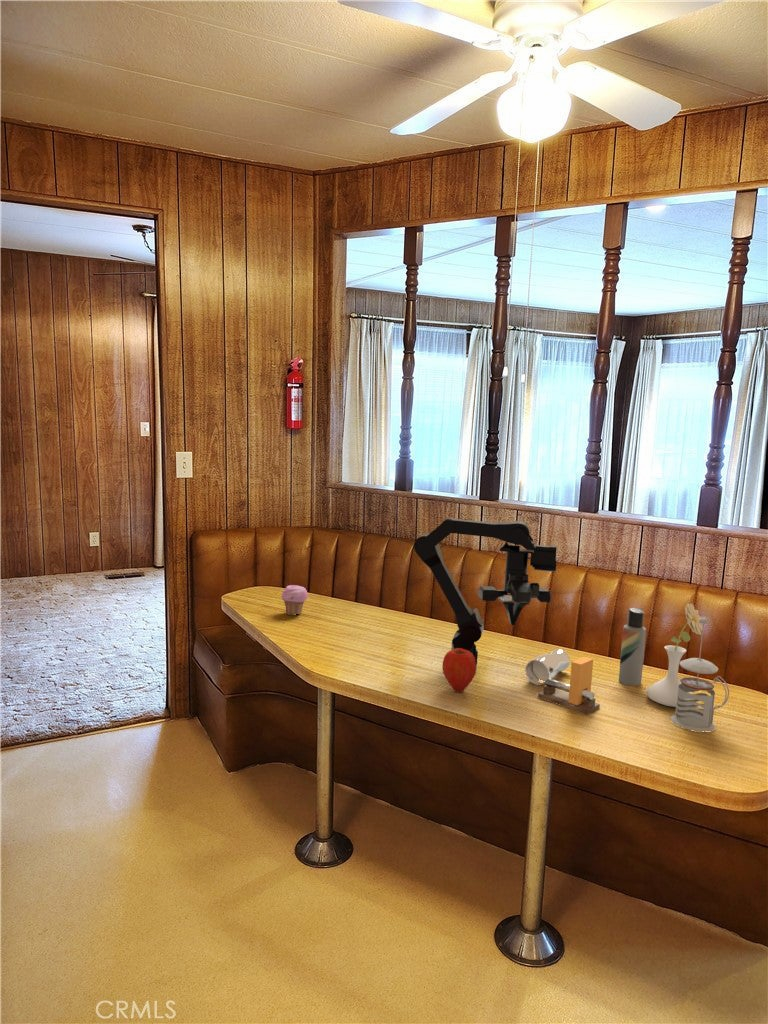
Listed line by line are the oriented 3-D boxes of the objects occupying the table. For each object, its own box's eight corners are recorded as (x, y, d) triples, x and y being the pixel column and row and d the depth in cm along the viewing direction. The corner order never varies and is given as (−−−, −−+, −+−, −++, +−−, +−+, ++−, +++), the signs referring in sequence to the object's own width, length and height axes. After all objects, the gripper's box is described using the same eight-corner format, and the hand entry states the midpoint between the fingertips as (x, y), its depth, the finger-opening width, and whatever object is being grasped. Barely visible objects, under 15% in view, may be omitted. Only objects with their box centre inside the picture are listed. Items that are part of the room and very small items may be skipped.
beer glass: (546, 668, 192) (523, 681, 180) (549, 644, 191) (526, 655, 179) (570, 675, 188) (548, 689, 176) (573, 650, 187) (551, 663, 175)
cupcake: (282, 610, 238) (283, 581, 236) (307, 610, 238) (308, 582, 237) (280, 617, 229) (280, 588, 228) (306, 618, 229) (307, 588, 228)
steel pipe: (545, 686, 170) (545, 678, 170) (549, 684, 172) (549, 677, 172) (590, 701, 162) (591, 693, 162) (594, 699, 163) (594, 691, 163)
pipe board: (538, 697, 170) (539, 677, 169) (554, 689, 175) (556, 670, 175) (587, 714, 160) (588, 694, 160) (603, 706, 166) (604, 686, 165)
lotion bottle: (634, 678, 186) (640, 606, 184) (645, 686, 181) (652, 612, 178) (614, 678, 185) (621, 606, 183) (625, 686, 180) (632, 612, 177)
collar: (568, 702, 164) (571, 661, 163) (580, 696, 168) (584, 656, 167) (577, 705, 162) (580, 664, 161) (589, 699, 166) (593, 659, 165)
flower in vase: (671, 714, 163) (682, 612, 160) (635, 696, 173) (644, 599, 170) (710, 707, 169) (721, 607, 165) (672, 690, 179) (682, 596, 176)
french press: (679, 710, 165) (689, 609, 162) (730, 726, 157) (742, 620, 154) (663, 722, 158) (673, 616, 155) (716, 739, 150) (728, 628, 147)
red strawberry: (437, 684, 175) (440, 643, 174) (470, 684, 176) (473, 643, 175) (444, 697, 167) (446, 654, 166) (478, 697, 168) (481, 654, 166)
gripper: (489, 574, 175) (485, 633, 177) (560, 575, 176) (556, 634, 178) (479, 565, 186) (475, 621, 188) (546, 566, 187) (542, 622, 189)
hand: (512, 625), depth 185 cm, fingers closed
